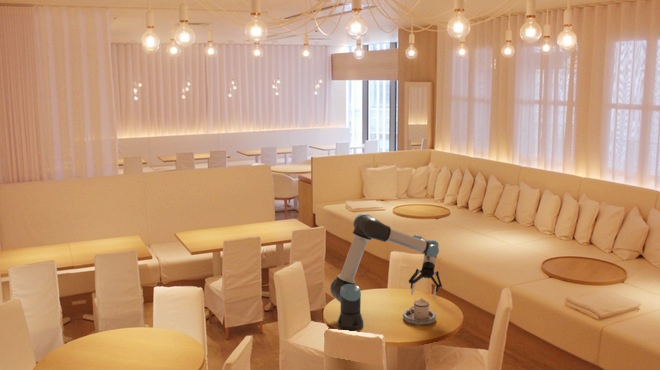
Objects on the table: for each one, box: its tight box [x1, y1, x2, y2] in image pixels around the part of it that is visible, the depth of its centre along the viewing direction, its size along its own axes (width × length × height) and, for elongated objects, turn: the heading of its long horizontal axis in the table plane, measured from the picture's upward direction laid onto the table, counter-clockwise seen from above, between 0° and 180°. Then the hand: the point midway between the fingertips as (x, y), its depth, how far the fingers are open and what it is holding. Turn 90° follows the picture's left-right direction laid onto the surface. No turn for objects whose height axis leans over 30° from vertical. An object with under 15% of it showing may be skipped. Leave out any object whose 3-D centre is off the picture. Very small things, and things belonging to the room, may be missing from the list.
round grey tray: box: [402, 308, 437, 327], centre depth 383 cm, size 19×19×3 cm
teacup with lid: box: [409, 297, 430, 320], centre depth 382 cm, size 12×9×12 cm
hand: (422, 295), depth 385 cm, fingers open, 13 cm apart
